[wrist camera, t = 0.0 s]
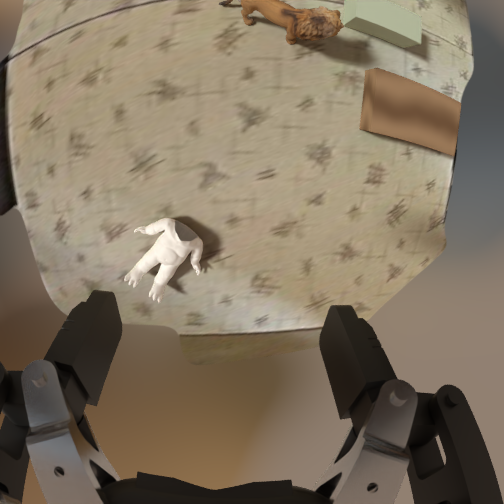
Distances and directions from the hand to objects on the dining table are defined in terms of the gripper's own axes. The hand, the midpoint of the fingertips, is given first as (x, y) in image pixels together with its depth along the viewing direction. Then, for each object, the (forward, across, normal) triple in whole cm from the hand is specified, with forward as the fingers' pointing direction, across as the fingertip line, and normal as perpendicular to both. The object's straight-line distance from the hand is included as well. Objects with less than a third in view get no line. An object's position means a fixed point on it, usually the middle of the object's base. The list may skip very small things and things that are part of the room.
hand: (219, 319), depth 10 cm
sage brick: (+30, -18, -25) cm, 43 cm away
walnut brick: (+30, -25, -12) cm, 41 cm away
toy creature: (+30, +9, +14) cm, 34 cm away
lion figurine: (+30, -4, -21) cm, 36 cm away
